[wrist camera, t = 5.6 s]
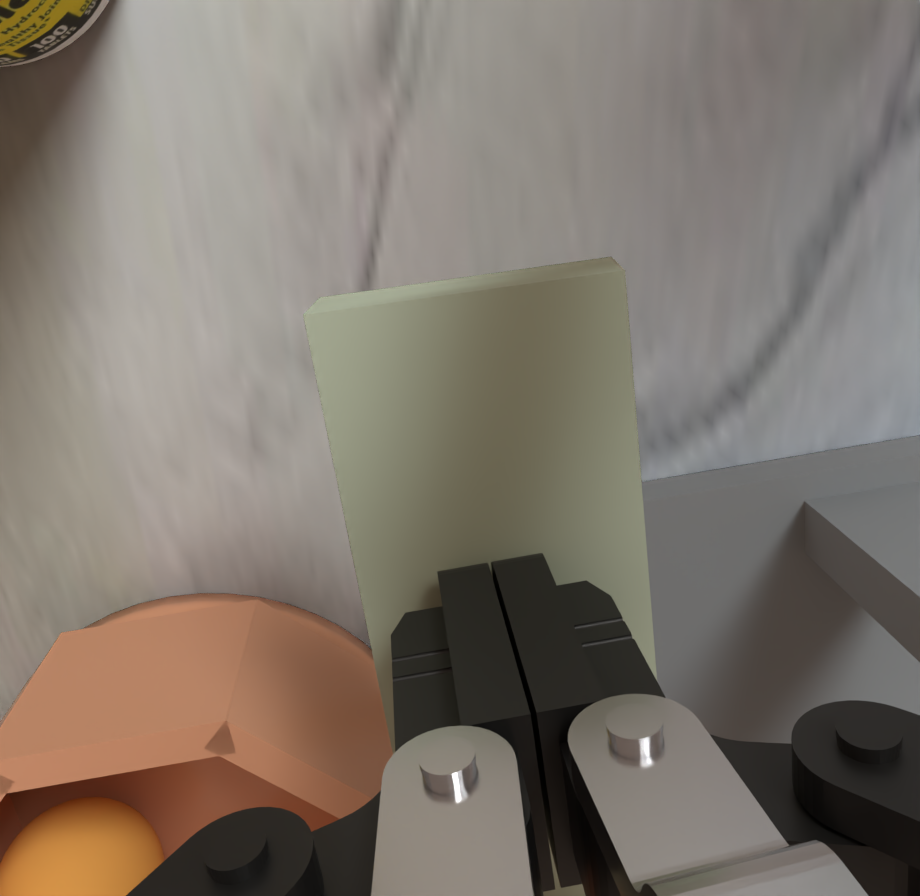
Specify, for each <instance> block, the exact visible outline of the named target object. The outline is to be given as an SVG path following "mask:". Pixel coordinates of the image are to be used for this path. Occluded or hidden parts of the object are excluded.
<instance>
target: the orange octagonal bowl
mask: <svg viewBox="0 0 920 896" xmlns="http://www.w3.org/2000/svg"><path fill="white" fill-rule="evenodd" d="M392 755H393V752H392V747H391V742H390V737H389V732H388V728H387V723H386V718H385V713H384V708H383V703H382V698H381V693H380V689H379V684H378V679H377V674H376V669H375V664H374V659H373V654H372V649H370V648H369V647H368V646H367V645H366V644H365V643H364V642H362V641H361V640H359V639H358V638H356V637H355V636H353V635H352V634H351V633H349V632H348V631H346V630H345V629H343V628H342V627H340V626H338V625H336V624H334V623H332V622H330V621H328V620H326V619H324V618H322V617H320V616H318V615H316V614H314V613H311V612H309V611H306V610H303V609H300V608H298V607H295V606H292V605H289V604H286V603H282V602H277V601H273V600H269V599H265V598H261V597H254V596H245V595H237V594H213V593H198V594H189V595H180V596H171V597H166V598H161V599H157V600H153V601H148V602H144V603H140V604H137V605H134V606H131V607H129V608H126V609H123V610H120V611H118V612H115V613H112V614H110V615H108V616H106V617H104V618H102V619H100V620H98V621H96V622H94V623H93V624H91V625H89V626H87V627H85V628H84V629H80V630H74V631H68V632H62V633H61V634H60V635H59V637H58V638H57V640H56V641H55V643H54V644H53V646H52V647H51V649H50V650H49V652H48V653H47V655H46V656H45V658H44V659H43V660H42V662H41V663H40V665H39V666H38V668H37V669H36V671H35V672H34V674H33V675H32V676H31V677H30V678H29V680H28V681H27V683H26V684H25V686H24V687H23V689H22V690H21V692H20V693H19V695H18V696H17V698H16V700H15V701H14V703H13V704H12V705H11V707H10V708H9V710H8V711H7V713H6V714H5V716H4V717H3V719H2V720H1V721H0V863H1V861H2V859H3V856H4V854H5V853H6V851H7V849H8V848H9V846H10V844H11V843H12V841H13V840H14V839H15V837H16V836H17V835H18V834H19V833H20V832H21V831H22V830H23V828H24V827H25V826H27V825H28V824H29V823H30V822H31V821H32V820H33V819H35V818H36V817H37V816H39V815H40V814H42V813H43V812H45V811H47V810H48V809H50V808H52V807H54V806H56V805H58V804H61V803H63V802H66V801H69V800H73V799H77V798H84V797H103V798H110V799H113V800H117V801H120V802H123V803H125V804H127V805H129V806H131V807H132V808H134V809H135V810H137V811H138V812H139V813H141V814H142V815H143V816H144V818H145V819H146V820H147V821H148V822H149V823H150V824H151V826H152V827H153V829H154V830H155V832H156V834H157V836H158V838H159V840H160V843H161V846H162V850H163V854H164V861H165V860H166V859H167V858H168V857H169V856H170V855H171V854H172V853H174V852H175V851H176V850H177V849H178V848H179V847H180V846H181V845H182V844H184V843H185V842H186V841H187V840H188V839H189V838H190V837H192V836H193V835H194V834H195V833H196V832H198V831H199V830H200V829H202V828H203V827H205V826H206V825H208V824H210V823H211V822H213V821H215V820H217V819H219V818H221V817H223V816H226V815H228V814H231V813H234V812H237V811H241V810H244V809H249V808H256V807H275V808H282V809H285V810H289V811H291V812H293V813H295V814H297V815H299V816H300V817H301V818H302V819H303V820H304V821H305V822H306V823H307V825H308V826H309V828H310V830H311V832H312V831H314V830H316V829H319V828H321V827H323V826H325V825H328V824H330V823H332V822H334V821H337V820H339V819H341V818H343V817H345V816H347V815H349V814H351V813H353V812H355V811H356V810H358V809H359V808H361V807H362V806H364V805H365V804H366V803H368V802H369V801H370V800H371V799H372V798H374V797H375V796H376V795H377V794H378V792H379V791H380V790H381V784H382V776H383V772H384V769H385V766H386V764H387V762H388V761H389V759H390V758H391V757H392Z"/></svg>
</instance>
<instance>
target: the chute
mask: <svg viewBox="0 0 920 896" xmlns="http://www.w3.org/2000/svg"><path fill="white" fill-rule="evenodd" d="M303 317H304V322H305V327H306V332H307V337H308V341H309V346H310V351H311V356H312V361H313V366H314V371H315V376H316V381H317V385H318V390H319V395H320V400H321V405H322V410H323V415H324V420H325V425H326V429H327V434H328V439H329V444H330V449H331V454H332V459H333V464H334V469H335V473H336V478H337V483H338V488H339V493H340V498H341V503H342V508H343V513H344V517H345V522H346V527H347V532H348V537H349V542H350V547H351V552H352V557H353V561H354V566H355V571H356V576H357V581H358V586H359V591H360V596H361V601H362V605H363V610H364V615H365V620H366V625H367V630H368V635H369V640H370V645H371V649H372V654H373V659H374V664H375V669H376V674H377V679H378V684H379V689H380V693H381V698H382V703H383V708H384V713H385V718H386V723H387V728H388V732H389V737H390V742H391V747H392V752H393V754H394V753H395V732H394V706H393V678H392V655H391V634H392V633H393V631H394V629H395V628H396V626H397V625H398V623H399V622H400V620H401V618H402V617H403V615H404V614H405V613H406V612H412V611H418V610H423V609H429V608H434V607H440V606H442V600H441V594H440V587H439V581H438V574H437V571H442V570H448V569H453V568H459V567H465V566H470V565H476V564H482V563H488V565H489V568H490V572H491V575H492V566H491V562H492V561H498V560H504V559H509V558H515V557H521V556H526V555H532V554H538V553H543V555H544V557H545V559H546V562H547V564H548V566H549V569H550V571H551V573H552V576H553V578H554V580H555V583H556V585H563V584H569V583H574V582H580V581H586V580H587V581H588V582H590V583H591V584H593V585H595V586H596V587H598V588H599V589H601V590H603V591H604V592H606V593H607V594H609V595H611V597H612V599H613V600H614V602H615V604H616V606H617V608H618V610H619V612H620V613H621V615H622V618H623V621H625V623H626V625H627V626H628V628H629V630H630V632H631V634H632V638H633V639H635V641H636V643H637V645H638V647H639V649H640V651H641V652H642V654H643V656H644V658H645V660H646V662H647V664H648V665H649V667H650V669H651V671H652V673H653V675H654V677H655V678H656V680H657V673H656V660H655V648H654V635H653V622H652V609H651V596H650V584H649V571H648V558H647V545H646V533H645V520H644V507H643V494H642V482H641V469H640V456H639V443H638V431H637V418H636V405H635V392H634V380H633V367H632V354H631V341H630V329H629V316H628V303H627V290H626V278H625V270H624V269H623V268H622V267H621V266H620V265H619V264H618V263H617V262H616V261H615V260H614V259H613V258H612V257H606V258H599V259H591V260H584V261H577V262H570V263H563V264H556V265H549V266H541V267H534V268H527V269H520V270H513V271H506V272H499V273H491V274H484V275H477V276H470V277H463V278H456V279H448V280H441V281H434V282H427V283H420V284H413V285H406V286H398V287H391V288H384V289H377V290H370V291H363V292H355V293H348V294H341V295H334V296H327V297H320V298H319V299H318V300H317V301H316V302H315V303H314V304H313V305H312V306H311V307H310V308H309V309H308V310H307V311H306V312H305V313H304V314H303ZM492 579H493V575H492ZM549 847H550V844H549ZM550 854H551V861H552V868H553V875H554V882H555V890H550V891H545V892H543V896H586V895H585V892H584V888H583V885H582V884H579V885H574V886H569V887H564V888H561V886H560V882H559V879H558V875H557V871H556V867H555V863H554V859H553V855H552V851H551V847H550Z"/></svg>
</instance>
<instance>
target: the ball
mask: <svg viewBox="0 0 920 896" xmlns="http://www.w3.org/2000/svg"><path fill="white" fill-rule="evenodd" d="M163 862H164V854H163V850H162V846H161V843H160V840H159V838H158V836H157V834H156V832H155V830H154V829H153V827H152V826H151V824H150V823H149V822H148V821H147V820H146V819H145V818H144V816H143V815H142V814H141V813H139V812H138V811H137V810H135V809H134V808H132V807H131V806H129V805H127V804H125V803H123V802H120V801H117V800H113V799H110V798H103V797H84V798H77V799H73V800H69V801H66V802H63V803H61V804H58V805H56V806H54V807H52V808H50V809H48V810H47V811H45V812H43V813H42V814H40V815H39V816H37V817H36V818H35V819H33V820H32V821H31V822H30V823H29V824H28V825H27V826H25V827H24V828H23V830H22V831H21V832H20V833H19V834H18V835H17V836H16V837H15V839H14V840H13V841H12V843H11V844H10V846H9V848H8V849H7V851H6V853H5V854H4V856H3V859H2V861H1V863H0V896H126V895H127V894H128V893H129V892H130V891H131V890H133V889H134V888H135V887H136V886H137V885H138V884H139V883H140V882H141V881H143V880H144V879H145V878H146V877H147V876H148V875H149V874H150V873H151V872H153V871H154V870H155V869H156V868H157V867H158V866H159V865H160V864H161V863H163Z"/></svg>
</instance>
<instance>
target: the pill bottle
mask: <svg viewBox="0 0 920 896" xmlns="http://www.w3.org/2000/svg"><path fill="white" fill-rule="evenodd" d="M108 2H109V0H0V67H5V66H15V65H22V64H26V63H30V62H34V61H37V60H40V59H43V58H45V57H47V56H50V55H52V54H54V53H56V52H58V51H60V50H62V49H63V48H65V47H67V46H68V45H70V44H71V43H72V42H74V41H75V40H76V39H78V38H79V37H80V36H81V35H82V34H83V33H84V32H85V31H86V30H88V29H89V28H90V26H91V25H92V24H93V23H94V22H95V21H96V19H97V18H98V17H99V15H100V14H101V13H102V11H103V10H104V8H105V7H106V5H107V4H108Z"/></svg>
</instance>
